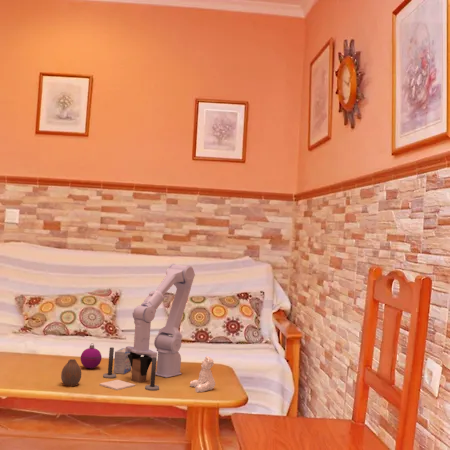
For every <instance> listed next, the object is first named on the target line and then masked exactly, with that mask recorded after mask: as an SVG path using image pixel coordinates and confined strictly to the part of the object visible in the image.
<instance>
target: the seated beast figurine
mask: <svg viewBox="0 0 450 450" xmlns="http://www.w3.org/2000/svg"><path fill="white" fill-rule="evenodd" d="M214 365H215V364H214V359H213V358H212V357H210V356H208V355H206V356H205V357H204V359H203V360H202V361H201V365H200V367H201V368H200V371H199V375H198V379H194V380H191V381H190V383H189V387H191V388H195V389H194V391H195V393H204V392H208V391H211V390H213V389H214V388H215V387H216V381H215V377H214V376H213V373H212V372H213V371H212V370H211V368H212V367H213V366H214Z"/></svg>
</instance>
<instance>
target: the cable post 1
mask: <svg viewBox="0 0 450 450" xmlns="http://www.w3.org/2000/svg"><path fill="white" fill-rule="evenodd" d="M114 355H115V348H114V347H111V346H110V347H109V351H108V364H107V365H108V366H107V372H105V373H103V374H102V377H103V378H105V379H116V378H117V373H114V372H113V368H114Z"/></svg>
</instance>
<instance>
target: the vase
mask: <svg viewBox="0 0 450 450" xmlns="http://www.w3.org/2000/svg"><path fill="white" fill-rule="evenodd" d="M60 376H61V377H60V378H61V383H62V384H63V385H64V386H66V387H75V386H78V384H79V383H80V381H81V380H82V379H81V378H82V368H81V366H80V365H79V364H78V362H77V360H76V359H74V358H72V359H71V358H70V359H69V360H68V361H67V363H66V364H65V365H64V366H63V368H62V370H61V374H60Z"/></svg>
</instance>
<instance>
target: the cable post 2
mask: <svg viewBox="0 0 450 450" xmlns="http://www.w3.org/2000/svg"><path fill="white" fill-rule="evenodd" d="M157 359H158V357H157V358H155V357H153V358H152V362H151V367H150V368H151V370H150V380H149V381H150V382H149V383H150V384H147V385H145V387H144V389H145V390H146V391H150V392H152V391H153V392H155V391H159V390H160V386H159V385H157V384H156V375H155V374H156V372H157Z"/></svg>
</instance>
